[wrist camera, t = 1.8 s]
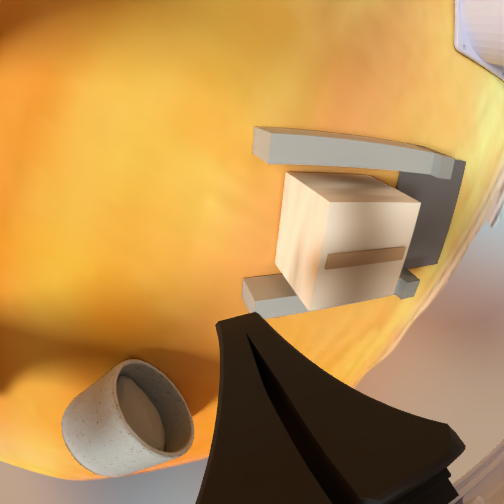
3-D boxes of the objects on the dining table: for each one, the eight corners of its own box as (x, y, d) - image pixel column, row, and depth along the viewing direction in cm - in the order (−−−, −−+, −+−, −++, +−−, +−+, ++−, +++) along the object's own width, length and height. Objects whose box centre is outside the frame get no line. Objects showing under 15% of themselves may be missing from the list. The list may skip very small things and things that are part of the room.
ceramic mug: (57, 389, 21) (54, 471, 14) (113, 339, 20) (116, 436, 14) (151, 431, 27) (164, 499, 20) (210, 394, 26) (235, 469, 20)
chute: (423, 146, 20) (455, 158, 17) (390, 275, 25) (414, 296, 23) (254, 126, 16) (276, 135, 14) (241, 296, 21) (256, 328, 19)
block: (368, 175, 20) (422, 204, 15) (351, 255, 22) (394, 295, 18) (285, 171, 18) (331, 203, 14) (274, 263, 21) (309, 312, 16)
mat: (464, 161, 22) (466, 162, 22) (435, 262, 27) (437, 263, 27) (403, 149, 20) (405, 150, 20) (374, 272, 24) (376, 274, 24)
